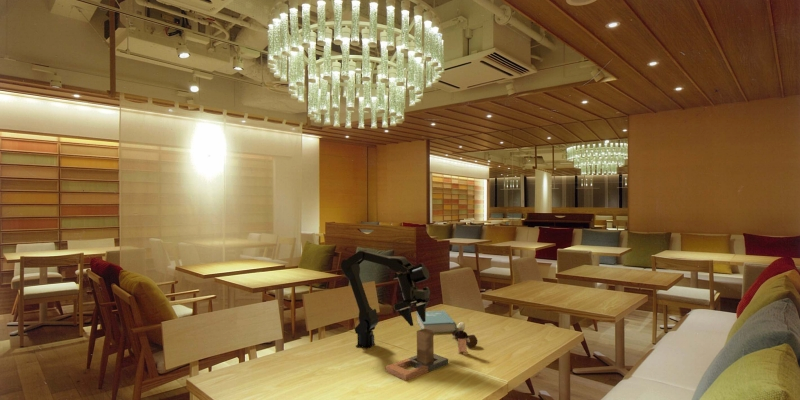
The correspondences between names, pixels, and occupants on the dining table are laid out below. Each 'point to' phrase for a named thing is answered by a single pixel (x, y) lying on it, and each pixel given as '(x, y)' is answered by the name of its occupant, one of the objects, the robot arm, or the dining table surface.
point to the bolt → (471, 337)
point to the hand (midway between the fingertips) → (418, 323)
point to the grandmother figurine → (461, 339)
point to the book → (437, 322)
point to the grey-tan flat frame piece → (420, 368)
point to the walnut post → (425, 346)
